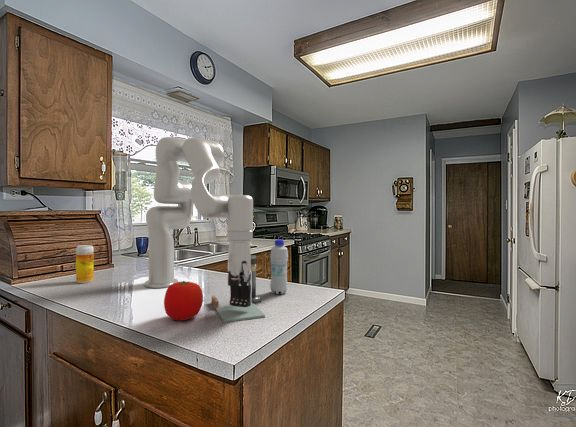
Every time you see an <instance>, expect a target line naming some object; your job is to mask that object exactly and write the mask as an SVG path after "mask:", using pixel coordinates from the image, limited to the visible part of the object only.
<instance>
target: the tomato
mask: <svg viewBox="0 0 576 427" xmlns="http://www.w3.org/2000/svg"><path fill="white" fill-rule="evenodd" d="M203 301H204V295H203V291H202V288H201V286H200V285H199V284H198V283H197V282H192V281H185V280H183V281H178V282H176V283H173V284H171V285H170V286H169V287H167V288H166V290H165V295H164V300H163V305H164V306H163V308H164V311H165V314H166V315H167V317H169V318H170V319H172V320H176V321H186V320H187V321H188V320H190V319H192V318H194V317H196V316H197V315H198V314H199V313H200V311H201V308H202V306H203V303H204V302H203Z"/></svg>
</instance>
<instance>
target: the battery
mask: <svg viewBox="0 0 576 427" xmlns="http://www.w3.org/2000/svg"><path fill="white" fill-rule="evenodd" d="M248 273H249V272H248ZM239 274H240V275H243V273H239ZM227 275H228V276H227V286H229V287H230V299H229V306H238V307H248V306H251V305H252V271H250V275H249V278H248V280H249V281H248V283H249V285H248V299H242V300H238V299H237V286H238V276H237V275H236V277H234V276H233V275H232V274H231V273H230V270H229V271H228V273H227ZM242 278H243V277H242ZM242 278H240V279H242Z"/></svg>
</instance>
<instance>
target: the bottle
mask: <svg viewBox="0 0 576 427" xmlns="http://www.w3.org/2000/svg"><path fill="white" fill-rule="evenodd" d="M269 256H270V260H269V261H270V265H271V266H270V284H269V285H270V287H269V288H270V290H271V293H272V294H276V295H279V292H280V295H283V294H286V293H287V291H288V260H289V252H288V248H287V247H286V246H285V240H284V239H281V238H278V239H276V240H274V246H272V247H271V248H270V255H269Z"/></svg>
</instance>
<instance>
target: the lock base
mask: <svg viewBox="0 0 576 427" xmlns="http://www.w3.org/2000/svg"><path fill="white" fill-rule="evenodd" d="M261 302H262V301H261V295H257V294H256V297H255V298H252V303H254V304H255V305H257V304H260V303H261Z"/></svg>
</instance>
